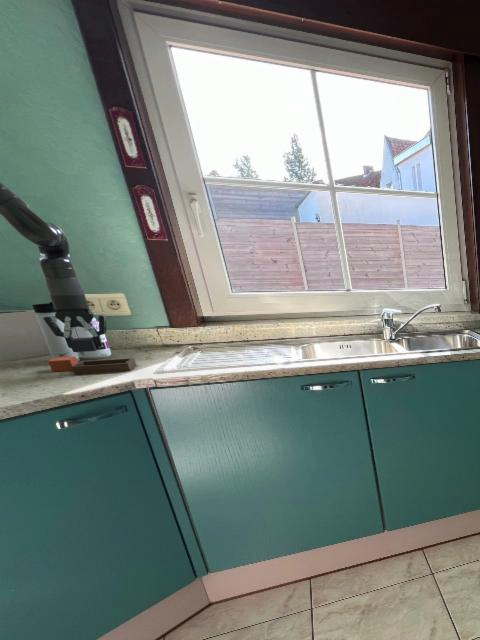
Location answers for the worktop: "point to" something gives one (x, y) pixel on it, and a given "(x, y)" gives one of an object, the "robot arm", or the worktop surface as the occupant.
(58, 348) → the travel mug
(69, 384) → the worktop surface
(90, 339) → the pad
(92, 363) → the tray
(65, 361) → the pad
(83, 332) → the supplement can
